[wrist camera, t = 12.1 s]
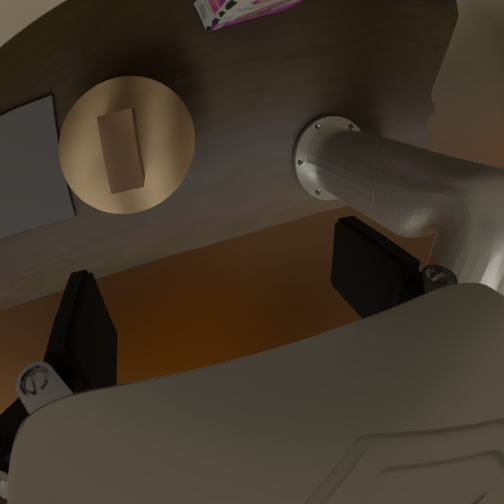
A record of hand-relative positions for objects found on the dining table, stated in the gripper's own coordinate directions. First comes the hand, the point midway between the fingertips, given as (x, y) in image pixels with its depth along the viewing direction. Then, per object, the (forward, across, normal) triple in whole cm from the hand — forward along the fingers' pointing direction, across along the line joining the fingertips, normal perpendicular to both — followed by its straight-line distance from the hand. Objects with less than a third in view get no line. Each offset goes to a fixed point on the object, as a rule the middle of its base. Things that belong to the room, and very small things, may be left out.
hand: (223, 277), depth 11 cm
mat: (+28, +22, -3) cm, 36 cm away
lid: (+22, +5, -3) cm, 23 cm away
